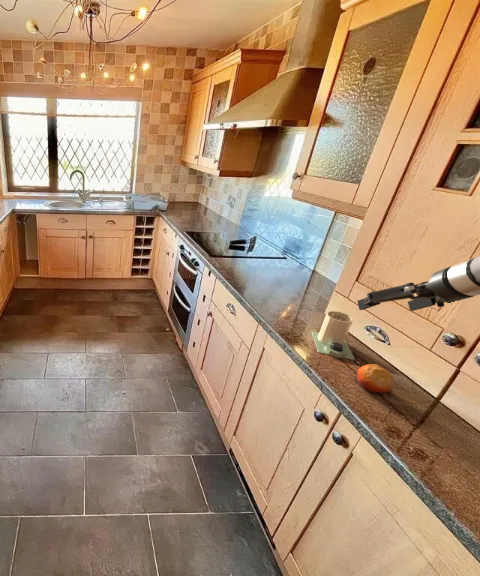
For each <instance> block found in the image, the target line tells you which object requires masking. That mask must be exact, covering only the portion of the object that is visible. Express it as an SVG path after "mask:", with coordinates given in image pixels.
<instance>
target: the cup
mask: <svg viewBox="0 0 480 576" xmlns="http://www.w3.org/2000/svg"><path fill="white" fill-rule="evenodd" d="M353 322H354V318H353V316H351V315H350V314H348V313H346V312H342V311H337V310H329V311H327V312H326V314H325V316H324V319H323V322H322V325H321V327H320V330H319V332H318V333H319V335H318V339H319V340H320V341H321V342H322V343H324V344H326V345H327V344H328V343H339V344H341V345H343V343H344V341H345V340H346V339H347V336H348V334H349V331H350V329H351V328H352V325H353Z"/></svg>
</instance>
